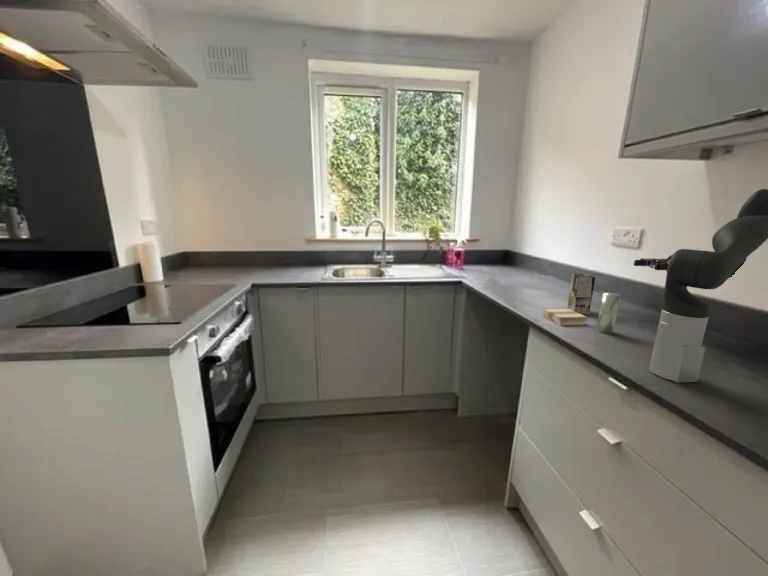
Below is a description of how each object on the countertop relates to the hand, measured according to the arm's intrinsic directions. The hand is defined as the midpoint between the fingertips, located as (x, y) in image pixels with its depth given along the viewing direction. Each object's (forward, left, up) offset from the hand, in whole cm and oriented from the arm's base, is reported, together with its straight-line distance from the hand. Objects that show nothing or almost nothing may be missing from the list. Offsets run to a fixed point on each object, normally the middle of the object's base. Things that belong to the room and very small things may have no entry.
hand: (644, 264), depth 122 cm
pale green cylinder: (0, +11, -24) cm, 27 cm away
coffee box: (+25, +3, -25) cm, 35 cm away
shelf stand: (+13, +18, -24) cm, 33 cm away
